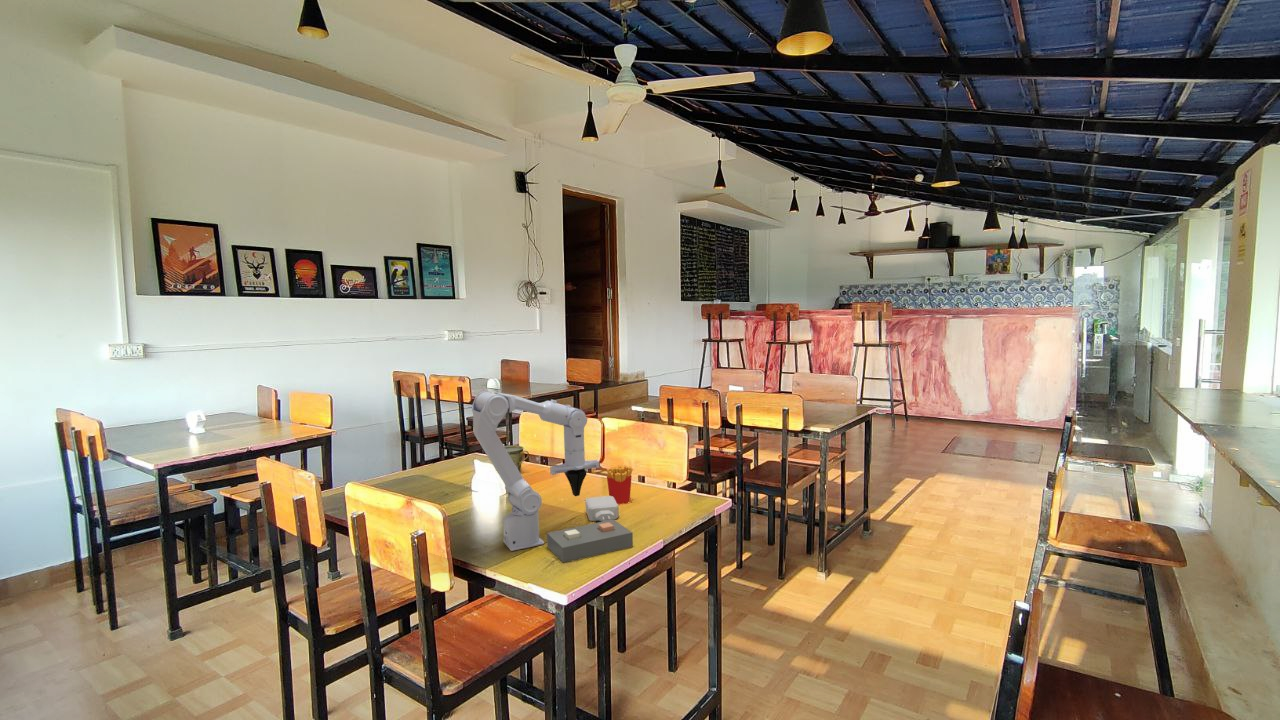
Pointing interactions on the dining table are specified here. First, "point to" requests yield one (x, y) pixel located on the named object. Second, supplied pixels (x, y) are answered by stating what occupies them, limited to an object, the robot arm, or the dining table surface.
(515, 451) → the ceramic cup
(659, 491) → the dining table surface
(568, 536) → the offwhite key
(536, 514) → the robot arm
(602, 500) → the charger
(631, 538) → the key box
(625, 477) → the french fries
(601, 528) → the terracotta key
